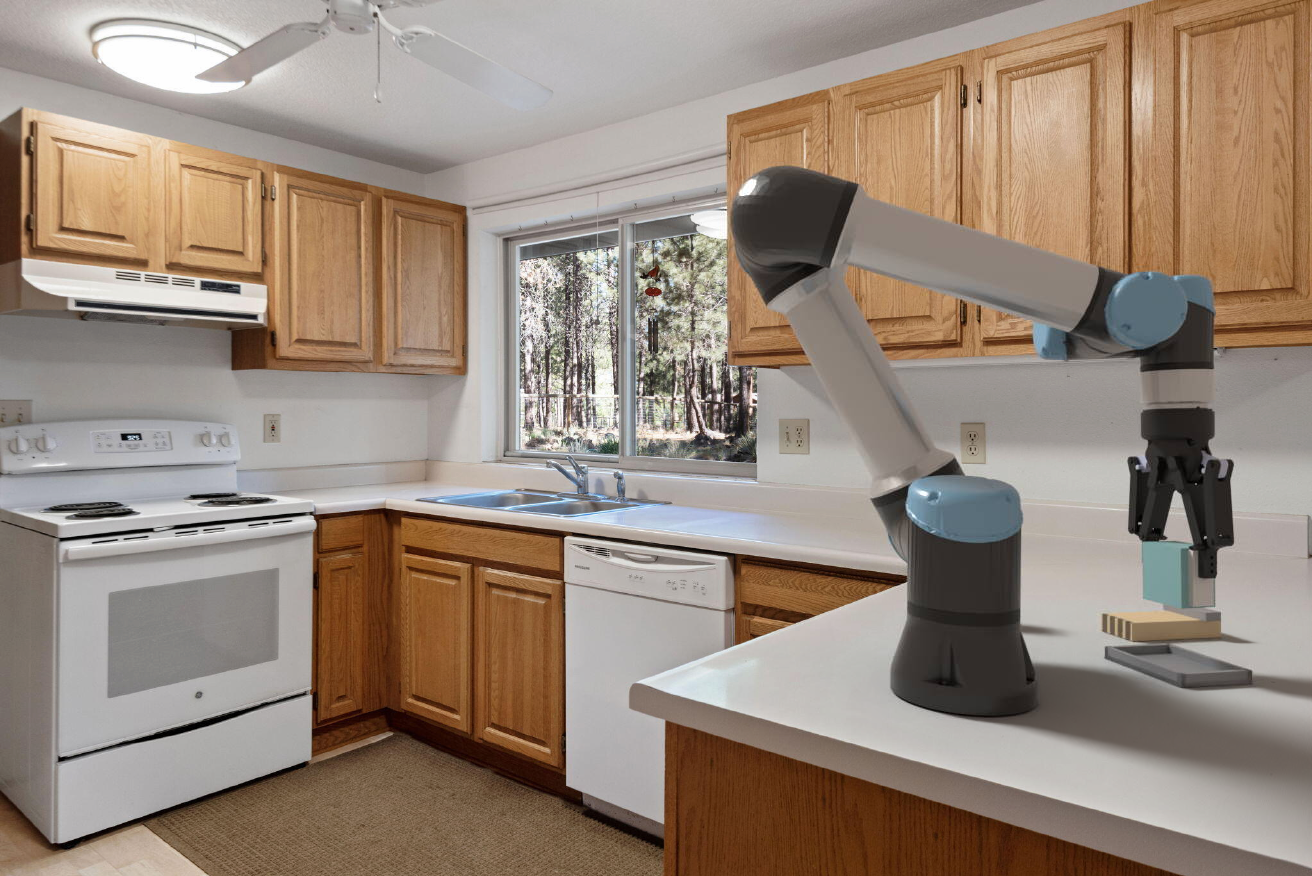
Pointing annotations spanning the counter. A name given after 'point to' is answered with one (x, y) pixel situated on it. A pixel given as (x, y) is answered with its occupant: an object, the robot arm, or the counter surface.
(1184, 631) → the tan notched slab
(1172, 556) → the block
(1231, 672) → the tray
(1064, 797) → the counter surface
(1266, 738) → the counter surface
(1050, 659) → the counter surface
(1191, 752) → the counter surface
